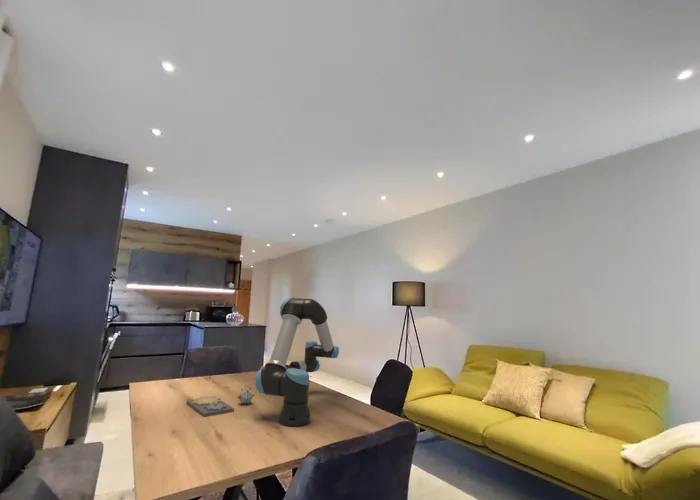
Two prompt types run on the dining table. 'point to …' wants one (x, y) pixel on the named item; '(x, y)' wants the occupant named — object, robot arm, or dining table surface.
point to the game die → (245, 396)
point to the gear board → (209, 406)
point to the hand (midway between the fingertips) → (266, 371)
